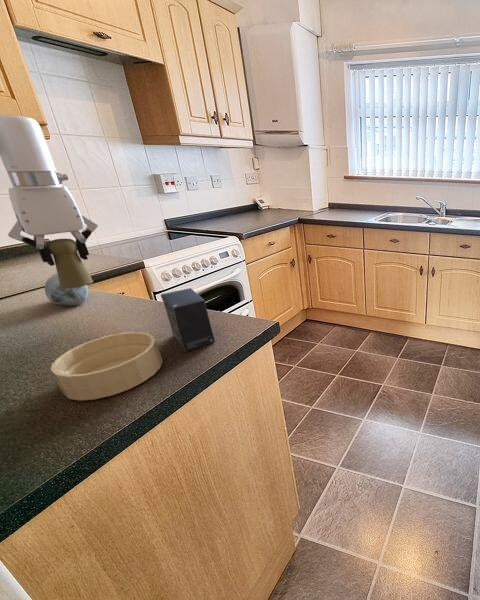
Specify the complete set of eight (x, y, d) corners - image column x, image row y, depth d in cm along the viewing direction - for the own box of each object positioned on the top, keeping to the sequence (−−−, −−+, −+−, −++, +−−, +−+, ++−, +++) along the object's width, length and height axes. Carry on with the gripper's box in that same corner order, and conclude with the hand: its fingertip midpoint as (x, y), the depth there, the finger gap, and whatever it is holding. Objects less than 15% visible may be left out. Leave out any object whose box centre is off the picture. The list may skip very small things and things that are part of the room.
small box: (217, 341, 75) (206, 299, 71) (185, 353, 71) (170, 308, 67) (202, 326, 82) (191, 286, 78) (172, 335, 78) (158, 294, 74)
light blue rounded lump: (98, 292, 94) (63, 264, 89) (63, 315, 90) (25, 288, 86) (102, 289, 105) (71, 264, 100) (71, 310, 101) (37, 285, 96)
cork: (89, 278, 86) (72, 235, 81) (96, 283, 82) (80, 238, 78) (57, 284, 81) (38, 239, 77) (64, 290, 78) (44, 243, 74)
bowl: (48, 412, 55) (33, 385, 53) (82, 365, 67) (71, 341, 65) (155, 388, 61) (145, 362, 58) (168, 348, 73) (160, 326, 71)
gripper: (82, 178, 81) (107, 251, 88) (-27, 181, 68) (13, 267, 75) (92, 179, 77) (117, 256, 84) (-22, 183, 64) (20, 273, 71)
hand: (67, 260), depth 80 cm, fingers closed on cork, 5 cm apart
